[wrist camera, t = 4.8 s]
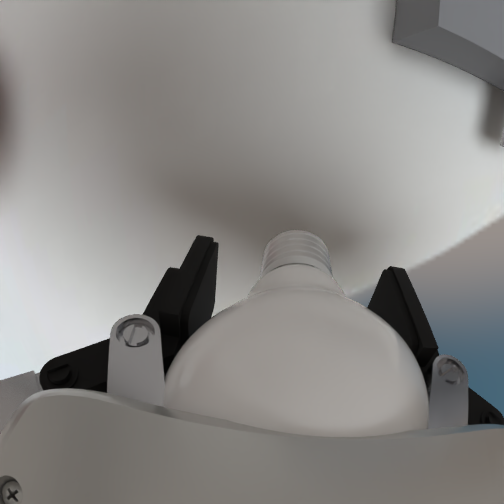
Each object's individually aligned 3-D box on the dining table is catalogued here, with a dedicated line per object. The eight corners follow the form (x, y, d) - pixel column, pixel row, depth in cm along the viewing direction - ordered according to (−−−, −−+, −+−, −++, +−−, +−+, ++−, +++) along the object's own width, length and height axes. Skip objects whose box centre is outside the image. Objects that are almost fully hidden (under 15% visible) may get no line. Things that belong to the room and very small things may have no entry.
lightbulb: (229, 306, 15) (173, 536, 6) (213, 181, 12) (49, 469, 3) (359, 307, 14) (390, 542, 5) (376, 180, 11) (524, 477, 2)
